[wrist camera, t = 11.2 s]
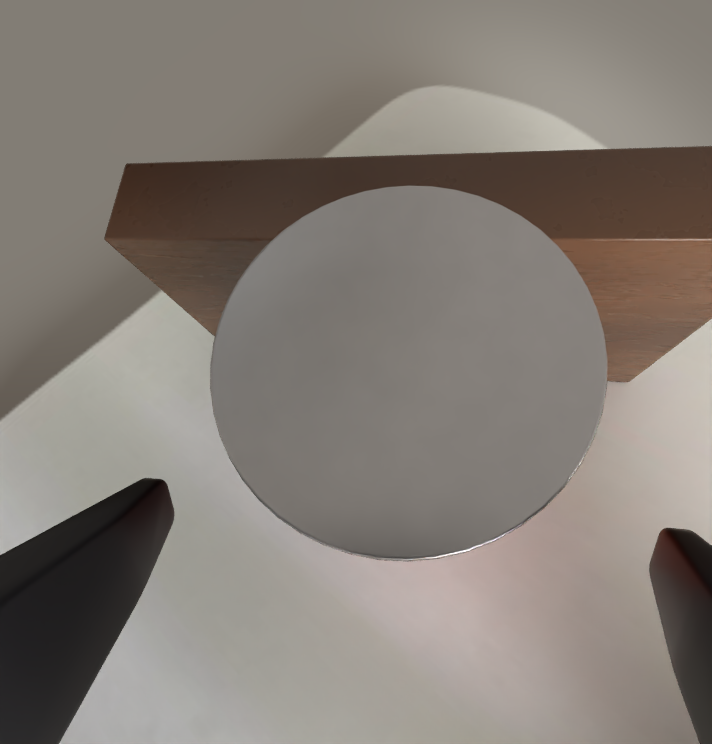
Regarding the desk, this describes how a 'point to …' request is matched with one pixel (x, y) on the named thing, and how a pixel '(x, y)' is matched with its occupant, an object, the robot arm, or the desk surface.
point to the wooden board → (463, 173)
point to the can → (408, 373)
